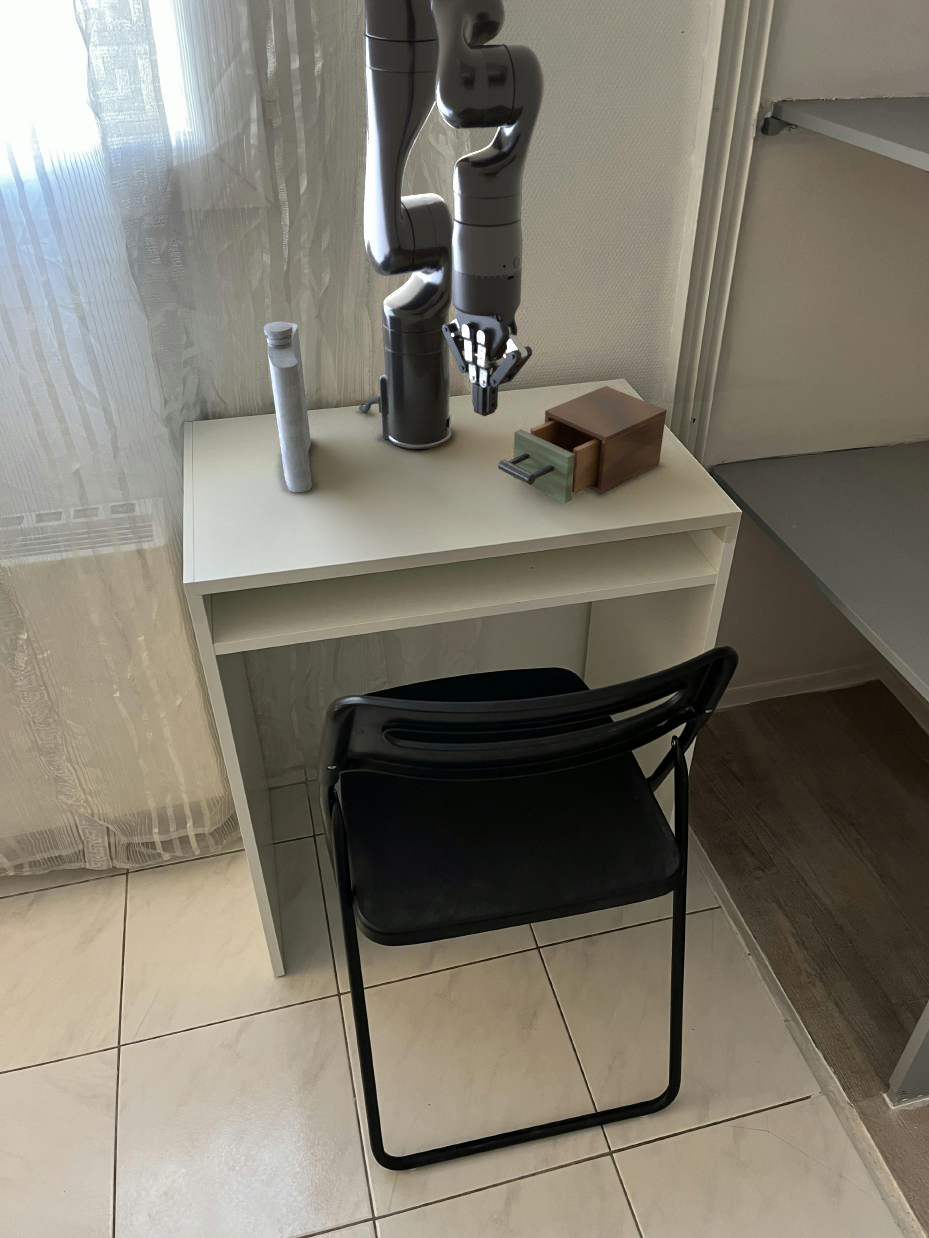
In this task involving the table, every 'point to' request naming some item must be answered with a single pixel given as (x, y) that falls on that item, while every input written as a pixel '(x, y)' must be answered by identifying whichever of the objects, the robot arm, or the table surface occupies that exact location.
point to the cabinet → (616, 432)
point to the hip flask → (290, 403)
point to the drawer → (555, 459)
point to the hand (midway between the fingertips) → (484, 412)
